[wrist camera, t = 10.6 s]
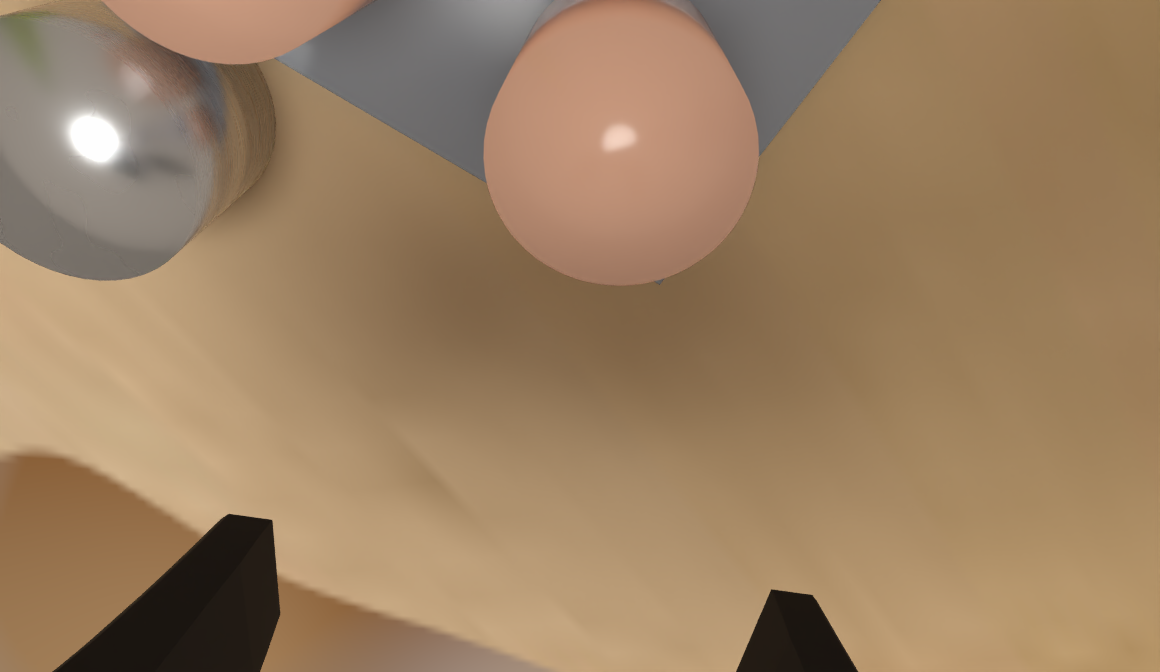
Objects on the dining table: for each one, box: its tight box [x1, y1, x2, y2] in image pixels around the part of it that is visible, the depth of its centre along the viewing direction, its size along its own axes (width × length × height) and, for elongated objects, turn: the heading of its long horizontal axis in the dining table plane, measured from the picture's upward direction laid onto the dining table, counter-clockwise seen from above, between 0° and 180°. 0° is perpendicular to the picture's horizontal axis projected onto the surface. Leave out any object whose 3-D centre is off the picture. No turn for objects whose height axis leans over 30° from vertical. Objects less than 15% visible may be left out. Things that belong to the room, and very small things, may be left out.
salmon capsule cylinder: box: [483, 0, 759, 286], centre depth 14 cm, size 4×4×5 cm
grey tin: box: [0, 0, 276, 280], centre depth 16 cm, size 5×5×4 cm
